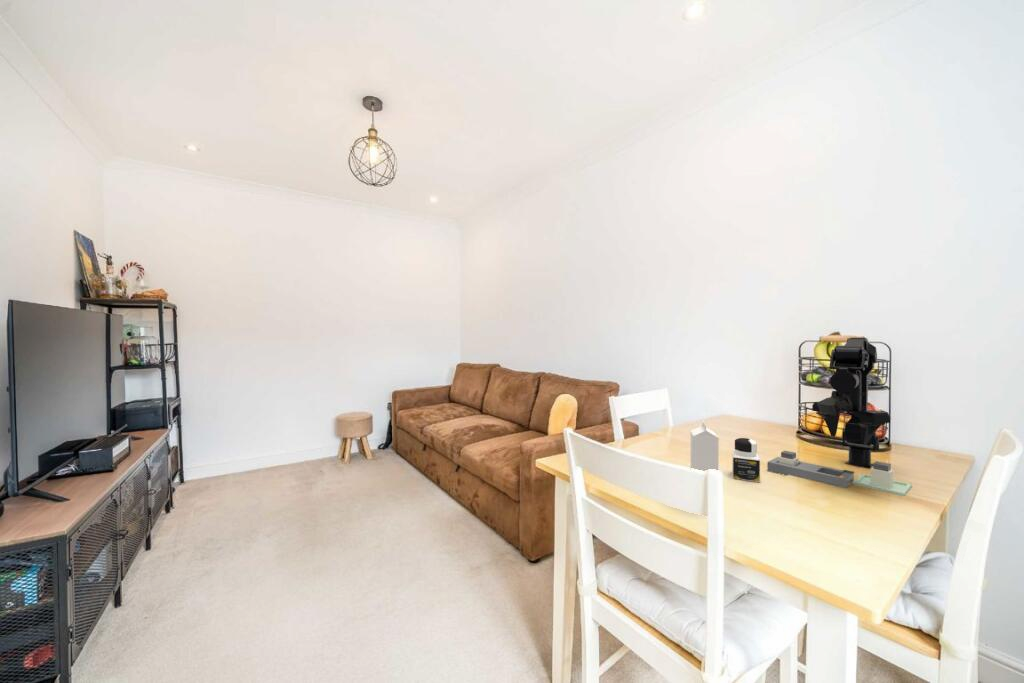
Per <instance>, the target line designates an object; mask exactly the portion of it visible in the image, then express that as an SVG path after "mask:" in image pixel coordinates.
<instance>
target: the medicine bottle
mask: <svg viewBox="0 0 1024 683" xmlns="http://www.w3.org/2000/svg"><path fill="white" fill-rule="evenodd" d="M731 452H732V458H731V459H732V466H731V468H732V469H731V470H732V472H731V473H732V478H733V479H734V478H737V479H736V480H739V479H742V480H741V481H746V480H748V481H747V482H753V481H755V483H760V481H761V460H760V456H759V454H758V443H757V441H755V440H753V439H751V438H747V437H740V438H739V437H738V438H736V439H734V450H732V451H731Z"/></svg>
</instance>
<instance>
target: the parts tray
mask: <svg viewBox="0 0 1024 683" xmlns="http://www.w3.org/2000/svg"><path fill="white" fill-rule="evenodd" d="M852 485H854V486H859V487H863V488H868V489H872V490H875V491H880V492H884V493H889V494H893V495H896V496H897V495H898V496H901V497H905V496H906V495H907V494H908V493H909V491H910V490H911V488H912V487H913V484H912V483H908V482H905V481H904V482H903V481H898V480H894V479H893V487H892V488H891V489H887V488H882V487H878V486H873V485H871V474H866V473H861V474H860V475H858V476H857V477H856V478H855V479H854V481H853V482H852Z"/></svg>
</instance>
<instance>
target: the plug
mask: <svg viewBox="0 0 1024 683" xmlns="http://www.w3.org/2000/svg"><path fill="white" fill-rule="evenodd" d="M872 464H873V466H872V467H871V468H870V475H871V485H873V486H878V487H882V488H887V489H891V488H892V487H893V480H894V469H892V466H891V463H888V462H883V461H877V460H876V461H874V462H873V463H872Z"/></svg>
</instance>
